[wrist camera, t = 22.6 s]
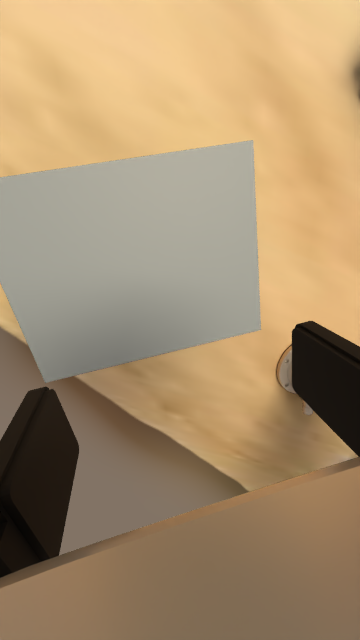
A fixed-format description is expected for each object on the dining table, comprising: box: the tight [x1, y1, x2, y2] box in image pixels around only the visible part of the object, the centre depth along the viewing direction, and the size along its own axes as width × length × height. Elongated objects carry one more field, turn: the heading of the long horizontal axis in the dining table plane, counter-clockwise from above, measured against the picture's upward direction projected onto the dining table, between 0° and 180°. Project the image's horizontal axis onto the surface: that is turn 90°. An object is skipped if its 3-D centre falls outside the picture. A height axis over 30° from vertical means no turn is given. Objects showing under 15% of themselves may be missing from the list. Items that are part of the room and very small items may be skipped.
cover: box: [0, 140, 261, 383], centre depth 27 cm, size 20×26×1 cm
